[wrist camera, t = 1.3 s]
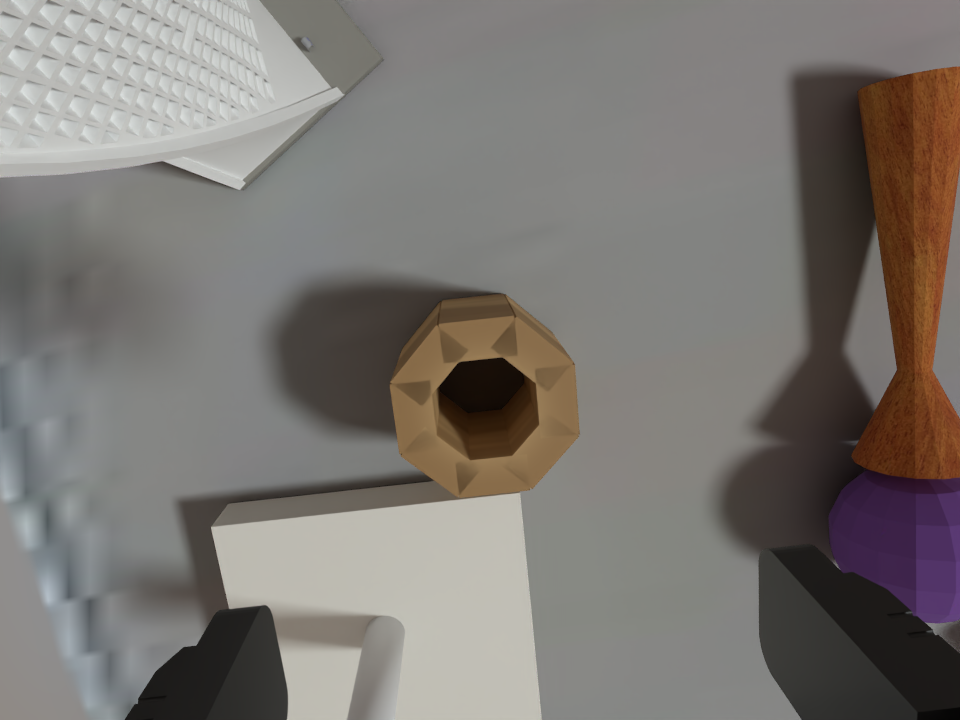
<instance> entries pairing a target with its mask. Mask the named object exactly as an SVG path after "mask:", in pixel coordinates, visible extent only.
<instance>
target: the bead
mask: <svg viewBox="0 0 960 720" xmlns="http://www.w3.org/2000/svg"><path fill="white" fill-rule="evenodd" d="M500 357H503V358H504V359H506V360H507V361H508V362H509V363H511V364H512V365H513V366H514V367H516V368H517V369H518V370H519V371H521V372H522V373H523V375H524V384H523V385H522V386H521V388H520V389H519V390H518V391H517V392H516V393H515V395H514V396H513V397H512V398H511V399H510V400H509V402H508V403H507V404H506V405H505V406H504V407H503V409H499V410H490V411H481V412H472V413H467V412H466V411H464V410H463V409H462V408H460V407H459V406H458V405H456V404H455V403H454V402H452V401H451V400H450V399H449V398H447V397H446V396H445V395H443V394H442V393H441V392H440V384H441V383H442V382H443V381H444V379H445V378H446V377H447V376H448V374H449V373H450V372H451V371H452V370H453V368H454V367H455V366H456V365H457V364H458V362H463V361H472V360H481V359H490V358H500ZM390 391H391V398H392V405H393V412H394V419H395V426H396V433H397V440H398V447H399V454H401V457H403V458H404V459H405V460H407V461H408V462H409V463H411V464H412V465H414V466H415V467H416V468H418V469H419V470H420V471H422V472H423V473H425V474H426V475H427V476H429V477H430V478H431V479H433V480H434V481H436V482H437V483H438V484H440V485H441V486H442V487H444V488H445V489H447V490H448V491H449V492H451V493H452V494H453V495H455V496H456V497H458V496H459V497H460V498H463V497H472V496H481V495H490V494H499V493H509V492H518V491H527V490H530V488H532V489H533V488H534V487H535V485H536V484H537V483H538V482H539V481H540V480H541V479H542V478H543V476H544V475H545V474H546V473H547V472H548V471H549V470H550V469H551V467H552V466H553V465H554V464H555V463H556V462H557V461H558V460H559V458H560V457H561V456H562V455H563V454H564V453H565V452H566V450H567V449H568V448H569V447H570V446H571V445H572V444H573V443H574V441H575V440H576V439H577V438H578V437H579V436H578V434H580V432H579V418H578V404H577V389H576V375H575V364H574V362H573V361H572V359H571V358H570V357H569V355H568V354H567V352H566V351H565V350H564V348H563V347H562V345H561V344H560V343H559V341H558V340H557V339H556V337H555V336H554V334H553V333H552V332H551V331H550V330H549V329H548V328H546V327H545V326H544V325H543V324H541V323H540V322H539V321H538V320H536V319H535V318H534V317H533V316H532V315H530V314H529V313H528V312H527V311H525V310H524V309H523V308H522V307H520V306H519V305H518V304H517V303H515V302H514V301H513V300H512V299H511V298H509V297H508V296H507V295H506V294H505V295H504V294H495V295H485V296H476V297H467V298H458V299H448V300H442V302H441V301H440V302H439V303H438V305H437V306H436V307H435V308H434V310H433V311H432V312H431V313H430V315H429V316H428V317H427V318H426V319H425V321H424V322H423V323H422V324H421V326H420V327H419V328H418V329H417V331H416V332H415V333H414V334H413V336H412V337H411V338H410V339H409V341H408V342H407V343H406V344H405V346H404V347H403V348H402V351H401V354H400V357H399V359H398V362H397V365H396V368H395V370H394V373H393V376H392V379H391V382H390Z"/></svg>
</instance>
